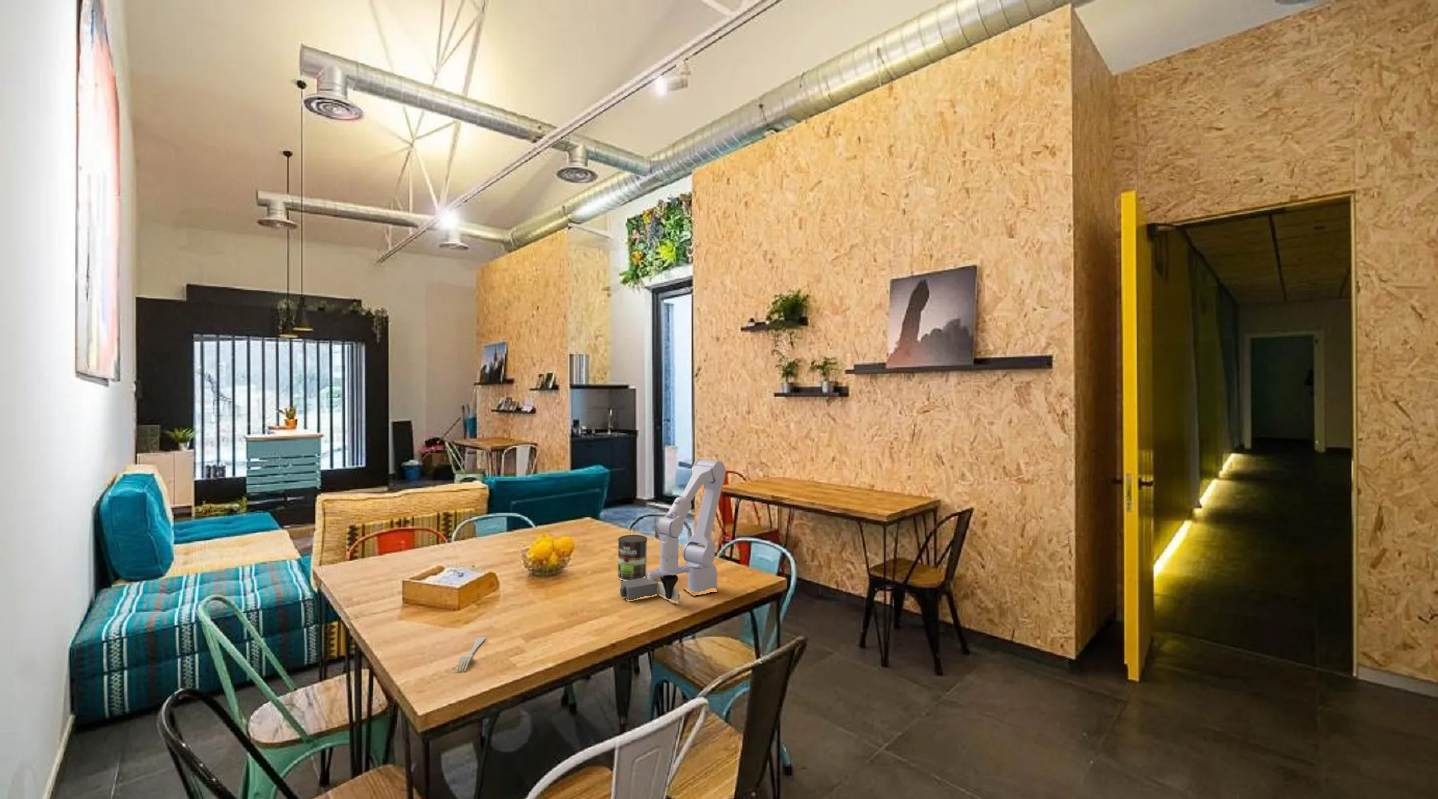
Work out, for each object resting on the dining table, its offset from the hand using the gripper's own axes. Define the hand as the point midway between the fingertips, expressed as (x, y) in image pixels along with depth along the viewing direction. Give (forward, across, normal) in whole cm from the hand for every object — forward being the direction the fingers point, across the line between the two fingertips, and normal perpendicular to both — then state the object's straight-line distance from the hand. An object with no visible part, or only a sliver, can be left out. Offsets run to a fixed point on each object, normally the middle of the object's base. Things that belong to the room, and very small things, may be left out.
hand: (668, 598), depth 186 cm
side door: (+2, +2, +3) cm, 4 cm away
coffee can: (+2, +2, +29) cm, 30 cm away
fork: (+3, -59, -2) cm, 59 cm away
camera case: (+2, -4, +11) cm, 12 cm away
